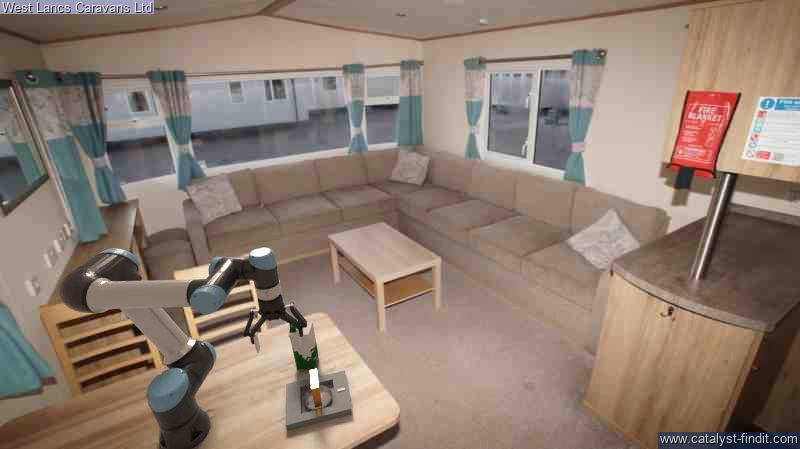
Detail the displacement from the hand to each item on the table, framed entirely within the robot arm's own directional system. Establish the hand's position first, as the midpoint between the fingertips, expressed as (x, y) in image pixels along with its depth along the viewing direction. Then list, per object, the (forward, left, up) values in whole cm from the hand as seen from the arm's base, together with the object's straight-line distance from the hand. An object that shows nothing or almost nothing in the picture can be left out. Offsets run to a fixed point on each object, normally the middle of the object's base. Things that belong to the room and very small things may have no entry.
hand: (279, 346), depth 129 cm
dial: (+10, -4, -24) cm, 26 cm away
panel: (+10, -4, -24) cm, 26 cm away
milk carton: (+7, +16, -24) cm, 30 cm away
